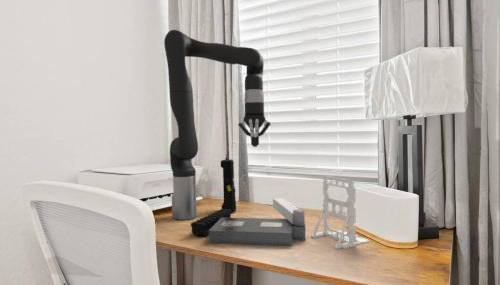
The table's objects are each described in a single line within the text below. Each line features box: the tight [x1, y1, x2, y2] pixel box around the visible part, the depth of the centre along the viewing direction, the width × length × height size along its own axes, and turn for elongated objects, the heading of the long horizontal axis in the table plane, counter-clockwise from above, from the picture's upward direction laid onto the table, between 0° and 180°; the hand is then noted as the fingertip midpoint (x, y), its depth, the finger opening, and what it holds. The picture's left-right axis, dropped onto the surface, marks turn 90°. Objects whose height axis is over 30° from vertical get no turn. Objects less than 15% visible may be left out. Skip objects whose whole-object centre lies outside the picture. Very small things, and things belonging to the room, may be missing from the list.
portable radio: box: [220, 153, 237, 212], centre depth 145 cm, size 8×6×25 cm
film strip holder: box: [310, 174, 371, 250], centre depth 106 cm, size 14×14×20 cm
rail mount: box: [190, 208, 232, 238], centre depth 120 cm, size 21×6×5 cm, turn 156°
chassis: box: [208, 217, 306, 247], centre depth 110 cm, size 30×16×4 cm, turn 81°
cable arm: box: [272, 197, 306, 226], centre depth 120 cm, size 28×4×4 cm, turn 10°
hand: (255, 146), depth 130 cm, fingers closed
